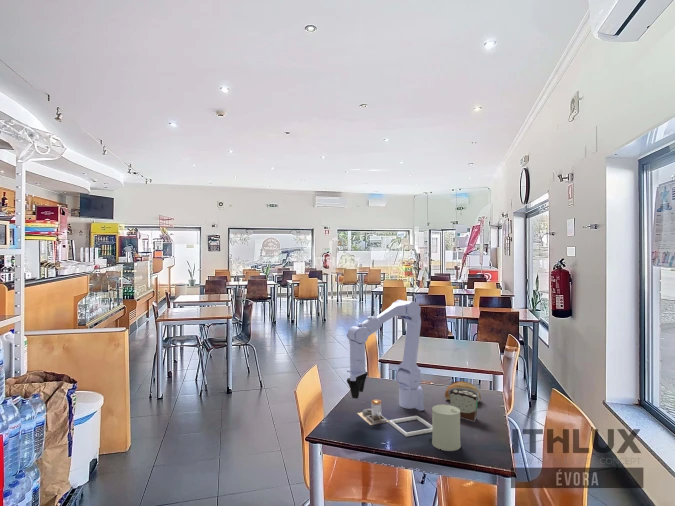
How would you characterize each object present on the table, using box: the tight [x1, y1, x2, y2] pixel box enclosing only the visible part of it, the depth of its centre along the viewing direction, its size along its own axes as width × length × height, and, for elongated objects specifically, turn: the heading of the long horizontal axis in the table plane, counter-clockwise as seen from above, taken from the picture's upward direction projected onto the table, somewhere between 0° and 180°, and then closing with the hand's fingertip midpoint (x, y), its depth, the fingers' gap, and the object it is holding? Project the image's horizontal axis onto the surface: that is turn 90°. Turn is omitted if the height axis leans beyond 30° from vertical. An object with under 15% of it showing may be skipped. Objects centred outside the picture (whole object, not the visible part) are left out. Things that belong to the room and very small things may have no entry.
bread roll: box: [444, 380, 482, 401], centre depth 175 cm, size 10×15×8 cm, turn 81°
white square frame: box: [388, 415, 432, 437], centre depth 144 cm, size 12×12×2 cm
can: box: [431, 404, 462, 452], centre depth 134 cm, size 9×9×12 cm
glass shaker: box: [370, 398, 383, 421], centre depth 150 cm, size 4×4×7 cm
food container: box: [448, 388, 481, 423], centre depth 158 cm, size 12×6×10 cm, turn 47°
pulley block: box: [356, 408, 390, 426], centre depth 153 cm, size 8×12×3 cm, turn 21°
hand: (357, 394), depth 153 cm, fingers open, 7 cm apart
